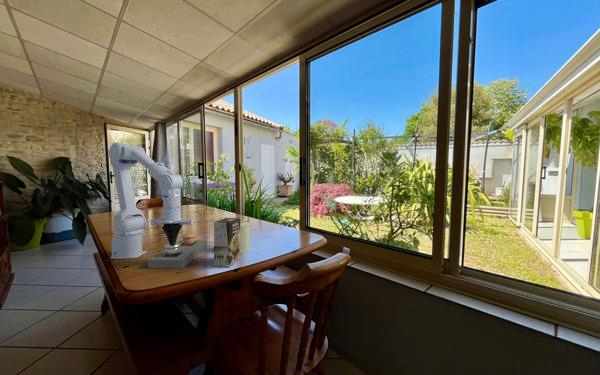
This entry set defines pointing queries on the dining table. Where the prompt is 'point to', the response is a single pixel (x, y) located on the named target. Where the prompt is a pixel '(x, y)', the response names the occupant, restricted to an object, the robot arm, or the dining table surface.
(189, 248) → the console
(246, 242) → the can
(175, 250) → the grey plunger
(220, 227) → the coffee box
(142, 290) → the dining table surface
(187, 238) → the tan rounded lump
